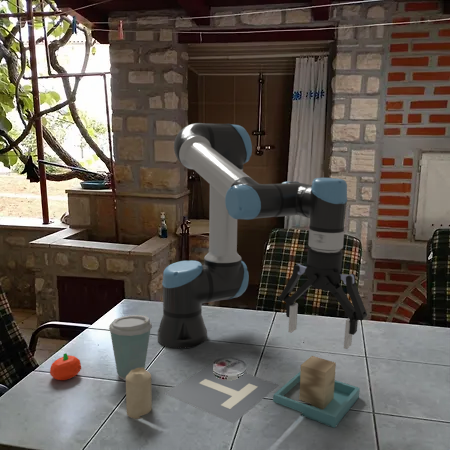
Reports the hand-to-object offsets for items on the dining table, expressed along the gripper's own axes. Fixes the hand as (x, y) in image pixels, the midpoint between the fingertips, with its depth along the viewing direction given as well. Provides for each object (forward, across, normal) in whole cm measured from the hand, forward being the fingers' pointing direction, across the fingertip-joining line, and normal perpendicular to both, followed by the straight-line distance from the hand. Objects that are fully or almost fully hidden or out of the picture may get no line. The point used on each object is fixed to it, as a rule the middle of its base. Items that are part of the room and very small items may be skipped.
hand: (319, 338), depth 107 cm
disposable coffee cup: (+16, -43, -17) cm, 49 cm away
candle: (+16, -29, -28) cm, 44 cm away
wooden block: (+15, +1, 0) cm, 15 cm away
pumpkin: (+16, -55, -28) cm, 64 cm away
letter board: (+16, -19, -10) cm, 27 cm away
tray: (+15, +1, 0) cm, 15 cm away
